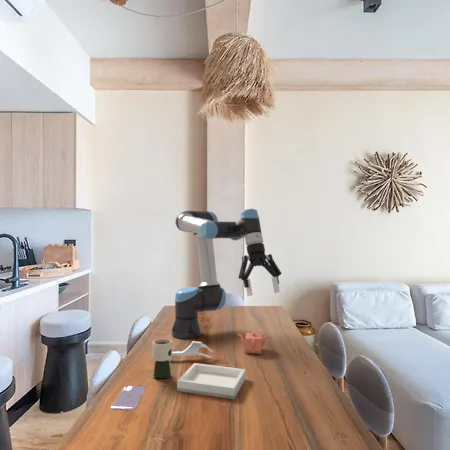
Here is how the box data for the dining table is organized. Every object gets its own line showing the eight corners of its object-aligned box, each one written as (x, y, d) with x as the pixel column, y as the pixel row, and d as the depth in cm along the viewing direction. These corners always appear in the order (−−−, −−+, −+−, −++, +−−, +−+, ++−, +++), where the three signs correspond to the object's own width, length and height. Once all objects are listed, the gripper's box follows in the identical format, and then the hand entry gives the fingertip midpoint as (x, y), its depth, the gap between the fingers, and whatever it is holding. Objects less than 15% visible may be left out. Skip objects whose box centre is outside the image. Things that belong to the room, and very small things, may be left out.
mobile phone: (109, 407, 110) (124, 385, 125) (109, 410, 110) (124, 387, 125) (134, 407, 110) (146, 385, 125) (134, 411, 110) (146, 388, 125)
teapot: (270, 357, 154) (270, 337, 154) (235, 355, 156) (235, 336, 156) (270, 347, 166) (271, 329, 166) (238, 346, 168) (238, 328, 168)
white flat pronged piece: (205, 372, 153) (165, 358, 150) (215, 347, 154) (176, 332, 151) (205, 374, 151) (165, 360, 148) (216, 348, 152) (176, 334, 149)
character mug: (171, 382, 129) (172, 345, 129) (151, 383, 128) (151, 346, 128) (171, 370, 140) (172, 336, 140) (153, 370, 139) (153, 337, 139)
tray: (194, 372, 138) (194, 363, 138) (245, 378, 132) (245, 369, 132) (177, 390, 122) (177, 380, 122) (234, 399, 117) (234, 388, 117)
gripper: (234, 242, 145) (242, 295, 140) (283, 241, 158) (293, 289, 152) (225, 247, 152) (233, 298, 146) (273, 245, 164) (282, 292, 158)
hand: (263, 294), depth 149 cm, fingers open, 13 cm apart
